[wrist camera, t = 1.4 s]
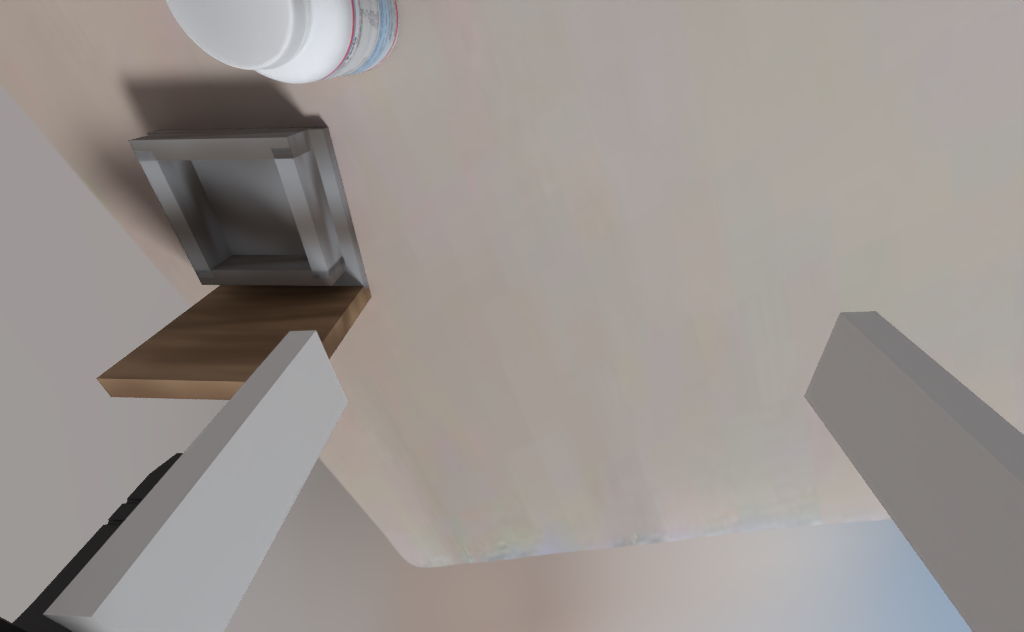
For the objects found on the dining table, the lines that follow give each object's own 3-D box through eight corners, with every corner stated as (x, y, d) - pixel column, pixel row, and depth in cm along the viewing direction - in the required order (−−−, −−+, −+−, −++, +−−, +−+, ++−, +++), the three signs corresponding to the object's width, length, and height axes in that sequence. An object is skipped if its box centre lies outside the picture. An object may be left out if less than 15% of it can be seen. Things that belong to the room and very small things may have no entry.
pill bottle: (273, -22, 23) (86, -67, 13) (361, -86, 21) (218, -188, 12) (340, 91, 26) (225, 119, 16) (422, 43, 24) (346, 43, 15)
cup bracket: (156, 130, 28) (-61, 179, 18) (328, 127, 27) (201, 176, 17) (234, 295, 35) (110, 396, 25) (371, 296, 34) (300, 401, 24)
